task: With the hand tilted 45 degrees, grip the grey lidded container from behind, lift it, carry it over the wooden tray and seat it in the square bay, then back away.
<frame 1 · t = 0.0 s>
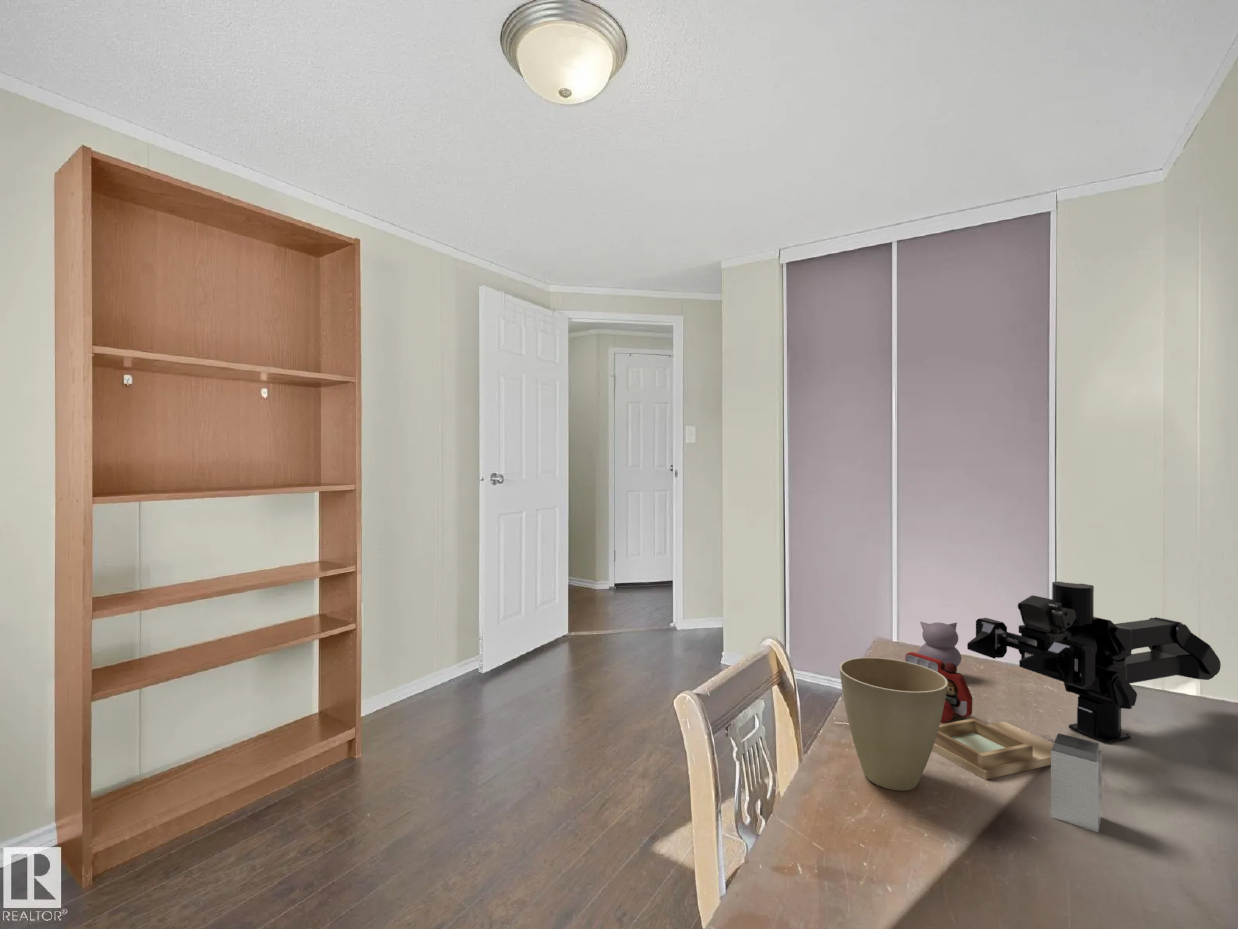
hand: (993, 654, 97), 17 cm above the table, tool horizontal, fingers open, 9 cm apart
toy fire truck: (936, 714, 114), on the table
cat figurine: (939, 677, 134), on the table
grey lidded container: (1076, 817, 81), on the table
plant pot: (891, 779, 90), on the table
wooden tray: (995, 751, 99), on the table
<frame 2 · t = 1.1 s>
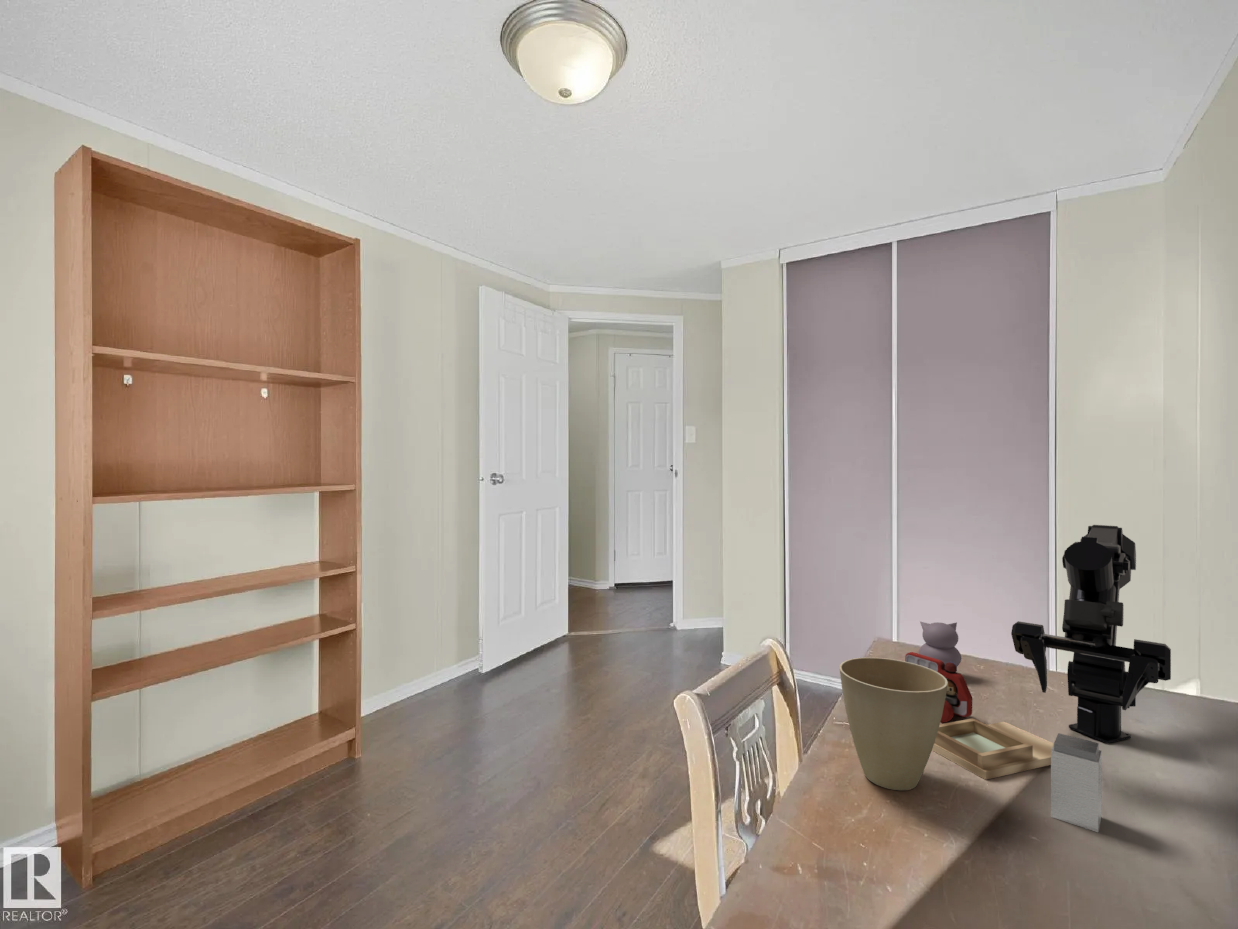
hand: (1082, 699, 86), 14 cm above the table, tool tilted 45°, fingers open, 9 cm apart
nothing on the table moved.
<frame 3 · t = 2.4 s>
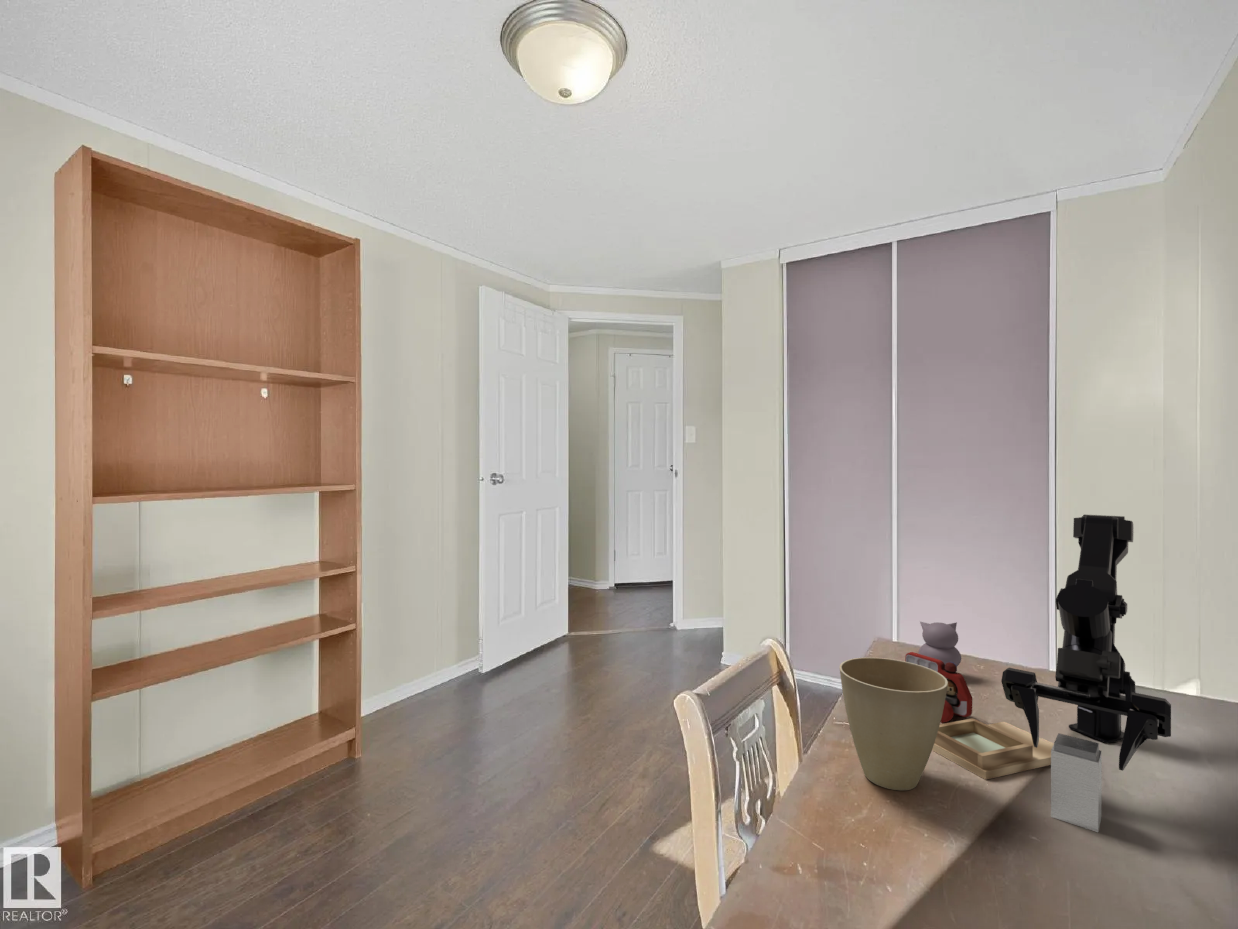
hand: (1076, 757, 81), 8 cm above the table, tool tilted 45°, fingers open, 9 cm apart
nothing on the table moved.
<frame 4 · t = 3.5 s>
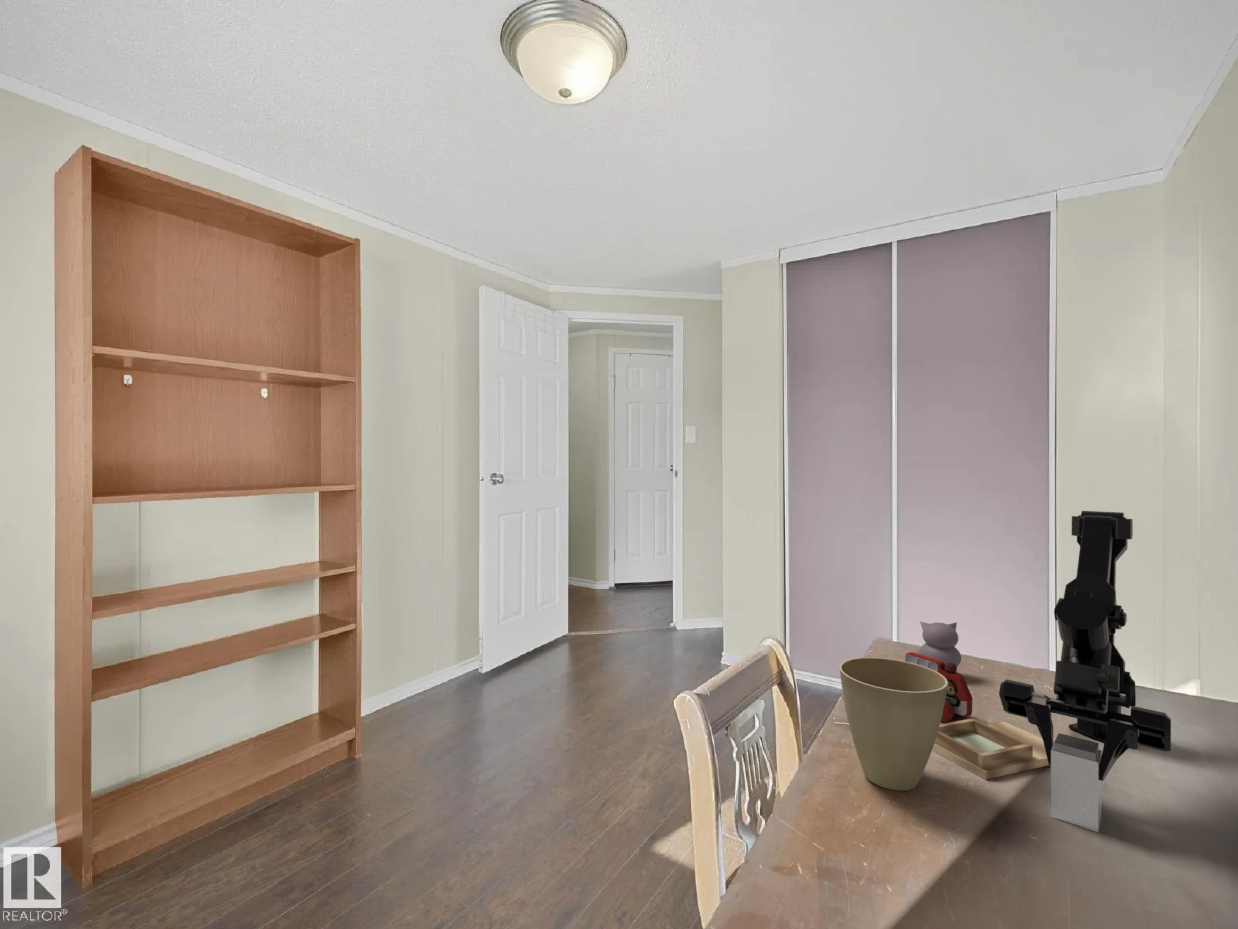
hand: (1074, 772, 79), 7 cm above the table, tool tilted 45°, fingers closed on grey lidded container, 5 cm apart
grey lidded container: (1076, 817, 81), on the table, touching gripper
everything else where it was.
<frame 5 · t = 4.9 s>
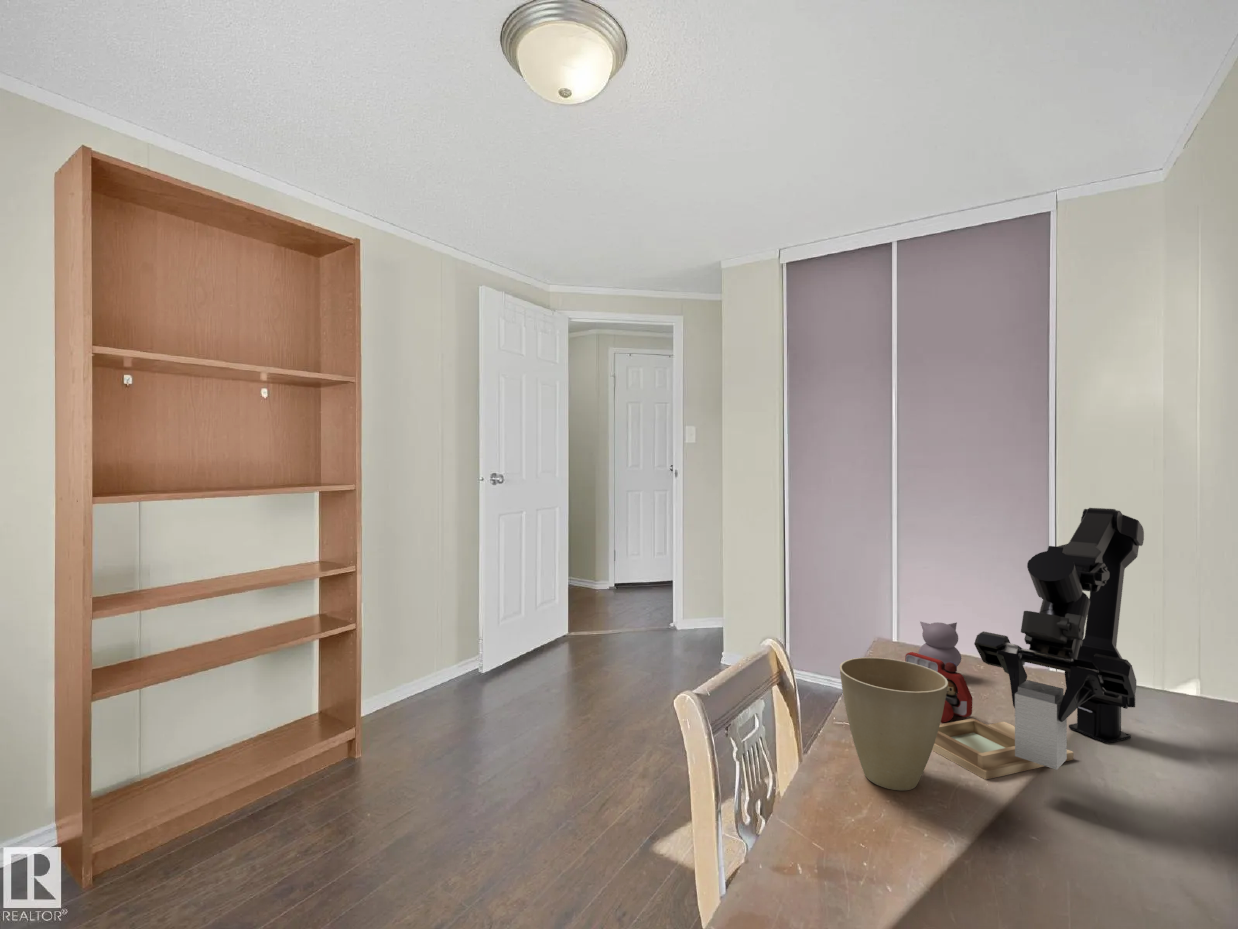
hand: (1037, 714, 84), 12 cm above the table, tool tilted 45°, fingers closed on grey lidded container, 5 cm apart
grey lidded container: (1040, 757, 85), point 6 cm above the table, touching gripper
everything else where it was.
when the fingers open (9 cm above the table, at t = 6.7 s): grey lidded container stays where it is, resting on wooden tray.
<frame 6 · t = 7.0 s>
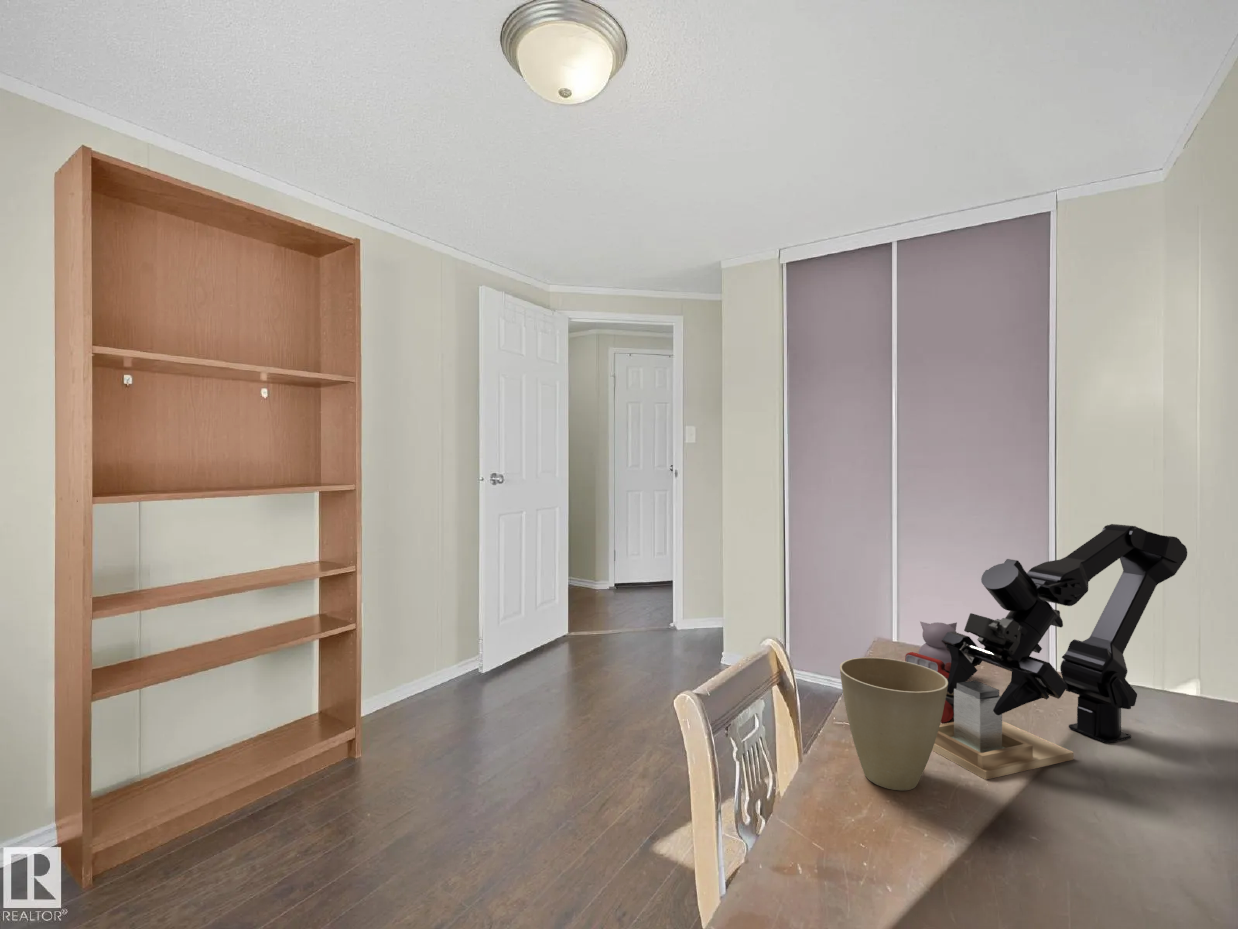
hand: (970, 702, 97), 9 cm above the table, tool tilted 45°, fingers open, 9 cm apart
grey lidded container: (977, 747, 97), point 1 cm above the table, touching wooden tray
everything else where it was.
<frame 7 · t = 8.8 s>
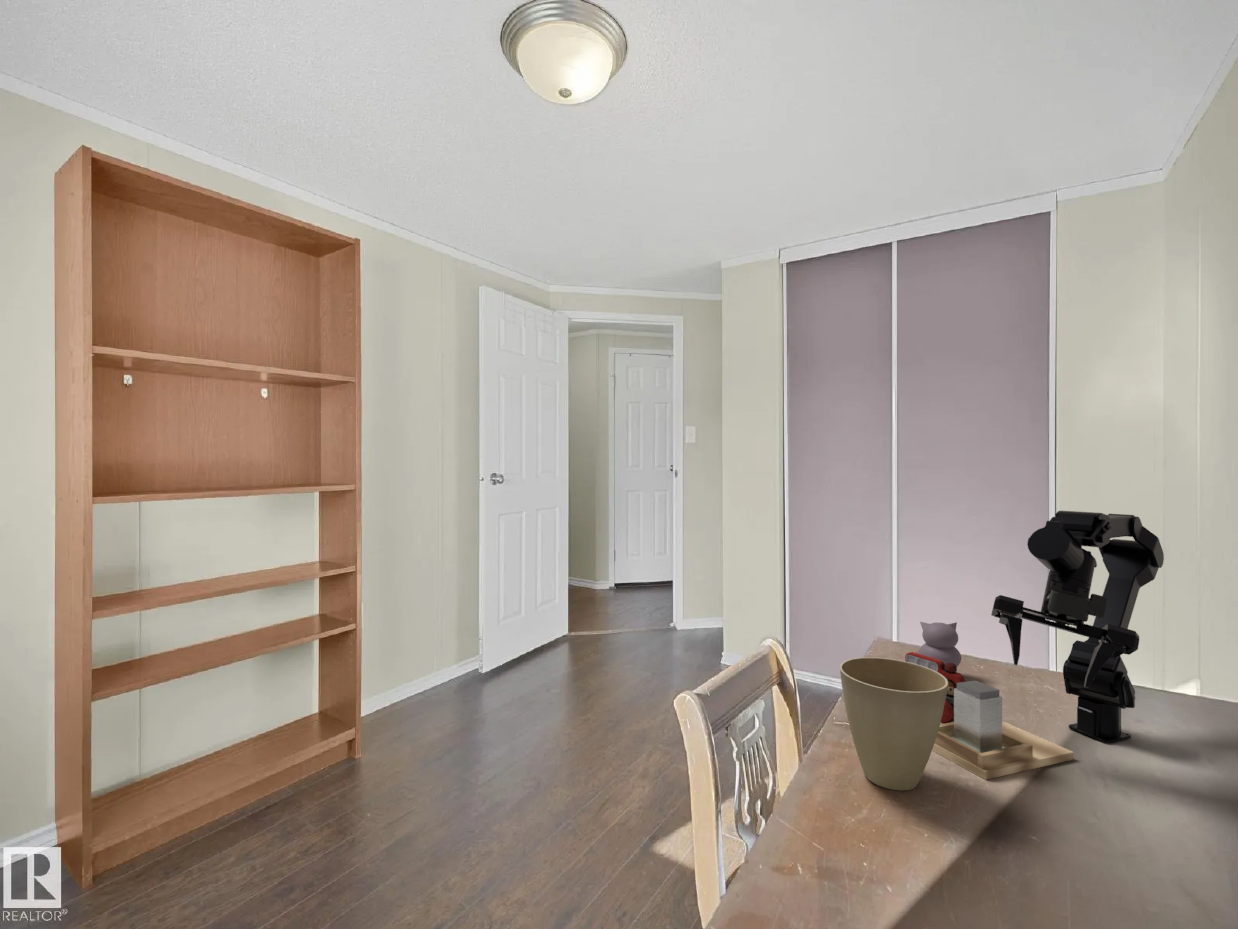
hand: (1050, 675, 94), 14 cm above the table, tool tilted 25°, fingers open, 9 cm apart
nothing on the table moved.
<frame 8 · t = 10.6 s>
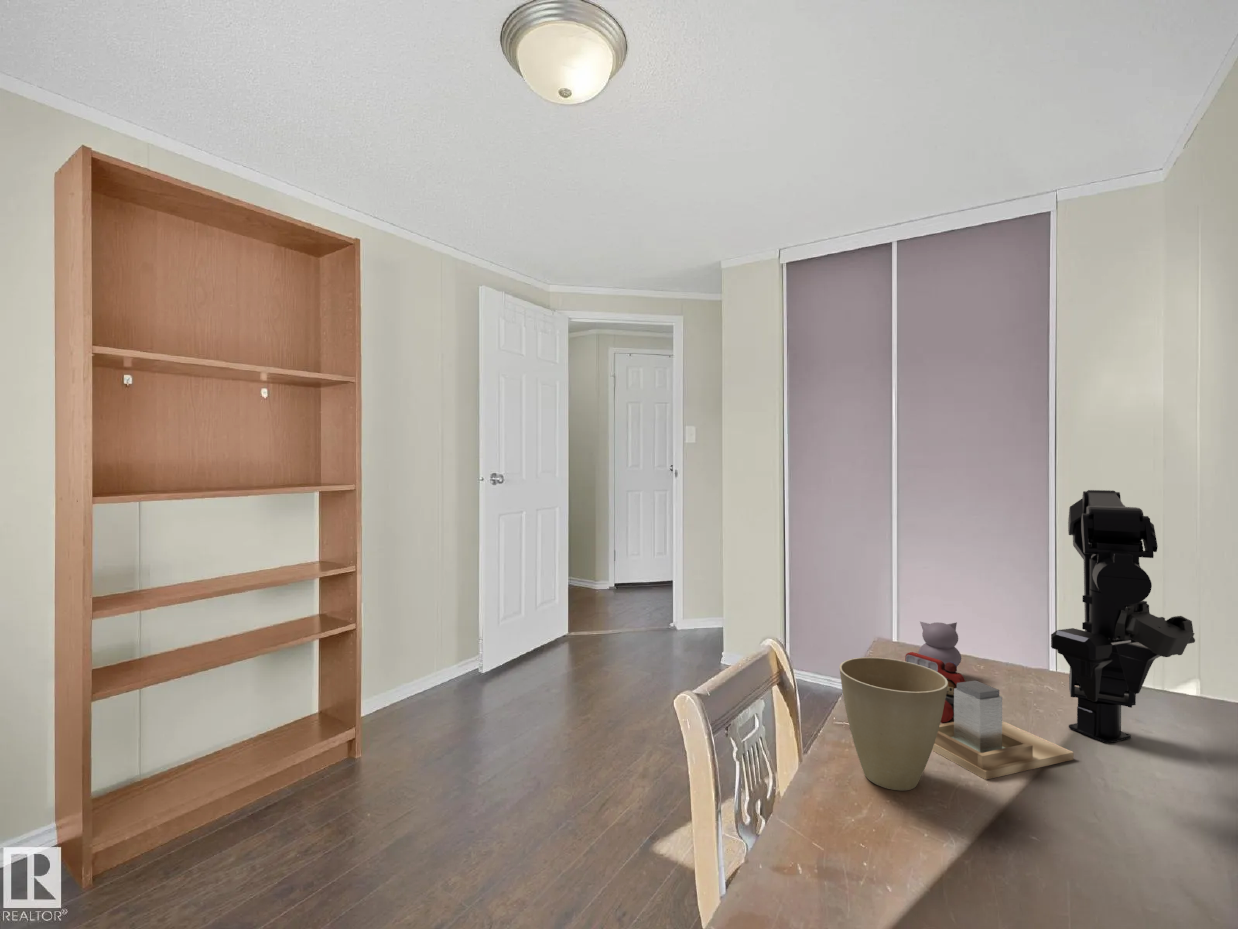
hand: (1113, 696, 89), 13 cm above the table, tool pointing down, fingers open, 9 cm apart
nothing on the table moved.
at the end: grey lidded container 0.1 cm from the target spot on the wooden tray, point 1.3 cm above the wooden tray's base; grey lidded container tilted 0°; the gripper is holding nothing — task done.
